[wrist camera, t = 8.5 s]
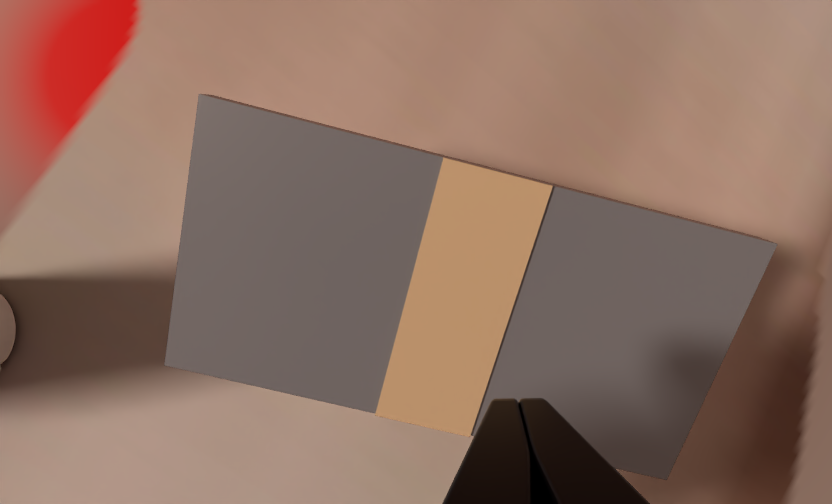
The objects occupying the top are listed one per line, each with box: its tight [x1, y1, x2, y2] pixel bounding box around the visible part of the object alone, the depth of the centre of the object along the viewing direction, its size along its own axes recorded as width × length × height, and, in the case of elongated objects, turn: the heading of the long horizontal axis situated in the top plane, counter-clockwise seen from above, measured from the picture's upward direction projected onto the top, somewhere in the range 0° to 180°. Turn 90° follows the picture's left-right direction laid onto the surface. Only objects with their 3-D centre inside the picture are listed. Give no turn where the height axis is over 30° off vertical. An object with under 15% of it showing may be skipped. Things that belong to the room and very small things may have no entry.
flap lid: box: [164, 94, 777, 480], centre depth 14 cm, size 8×16×1 cm, turn 77°
